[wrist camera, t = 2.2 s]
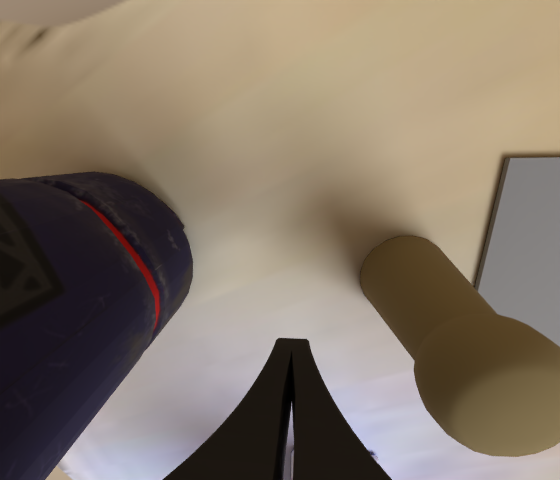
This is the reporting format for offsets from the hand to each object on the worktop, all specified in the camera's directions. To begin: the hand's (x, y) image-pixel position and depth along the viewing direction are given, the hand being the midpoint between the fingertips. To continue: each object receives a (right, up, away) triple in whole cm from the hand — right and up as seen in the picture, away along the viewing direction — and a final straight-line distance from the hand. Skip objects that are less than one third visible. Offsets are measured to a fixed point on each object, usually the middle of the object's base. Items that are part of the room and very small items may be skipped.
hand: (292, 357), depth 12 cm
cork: (+8, +3, +8) cm, 11 cm away
